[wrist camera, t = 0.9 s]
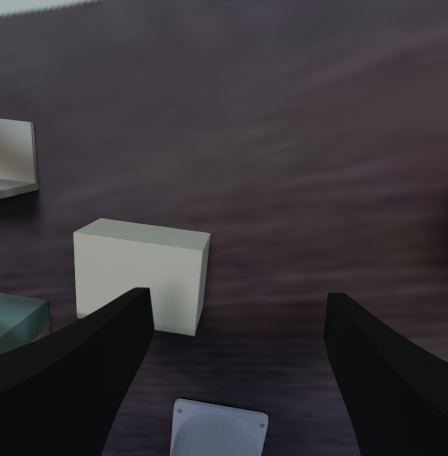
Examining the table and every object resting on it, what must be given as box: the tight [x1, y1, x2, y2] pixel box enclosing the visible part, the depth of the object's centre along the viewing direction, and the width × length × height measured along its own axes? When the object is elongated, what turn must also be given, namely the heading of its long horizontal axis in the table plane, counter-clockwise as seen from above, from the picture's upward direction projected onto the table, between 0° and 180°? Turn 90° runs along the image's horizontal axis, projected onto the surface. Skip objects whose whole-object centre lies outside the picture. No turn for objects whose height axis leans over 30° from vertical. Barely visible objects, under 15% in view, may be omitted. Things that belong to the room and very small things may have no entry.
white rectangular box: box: [73, 218, 210, 336], centre depth 20 cm, size 6×8×4 cm
